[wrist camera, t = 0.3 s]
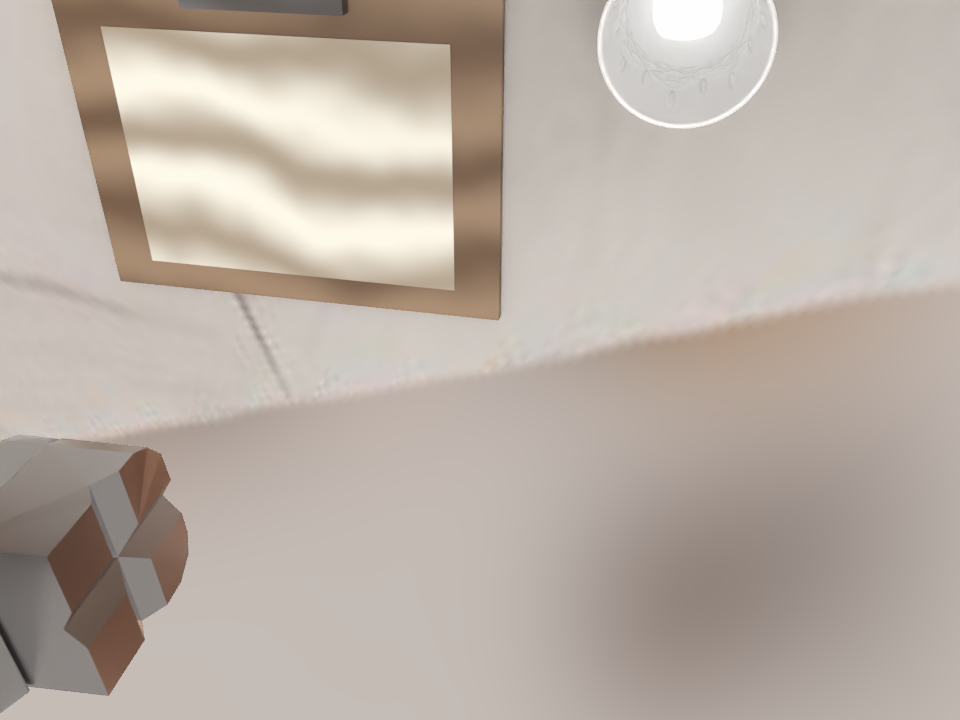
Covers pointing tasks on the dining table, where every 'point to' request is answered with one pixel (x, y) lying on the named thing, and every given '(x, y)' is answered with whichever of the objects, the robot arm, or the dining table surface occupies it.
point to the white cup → (686, 57)
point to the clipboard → (298, 145)
